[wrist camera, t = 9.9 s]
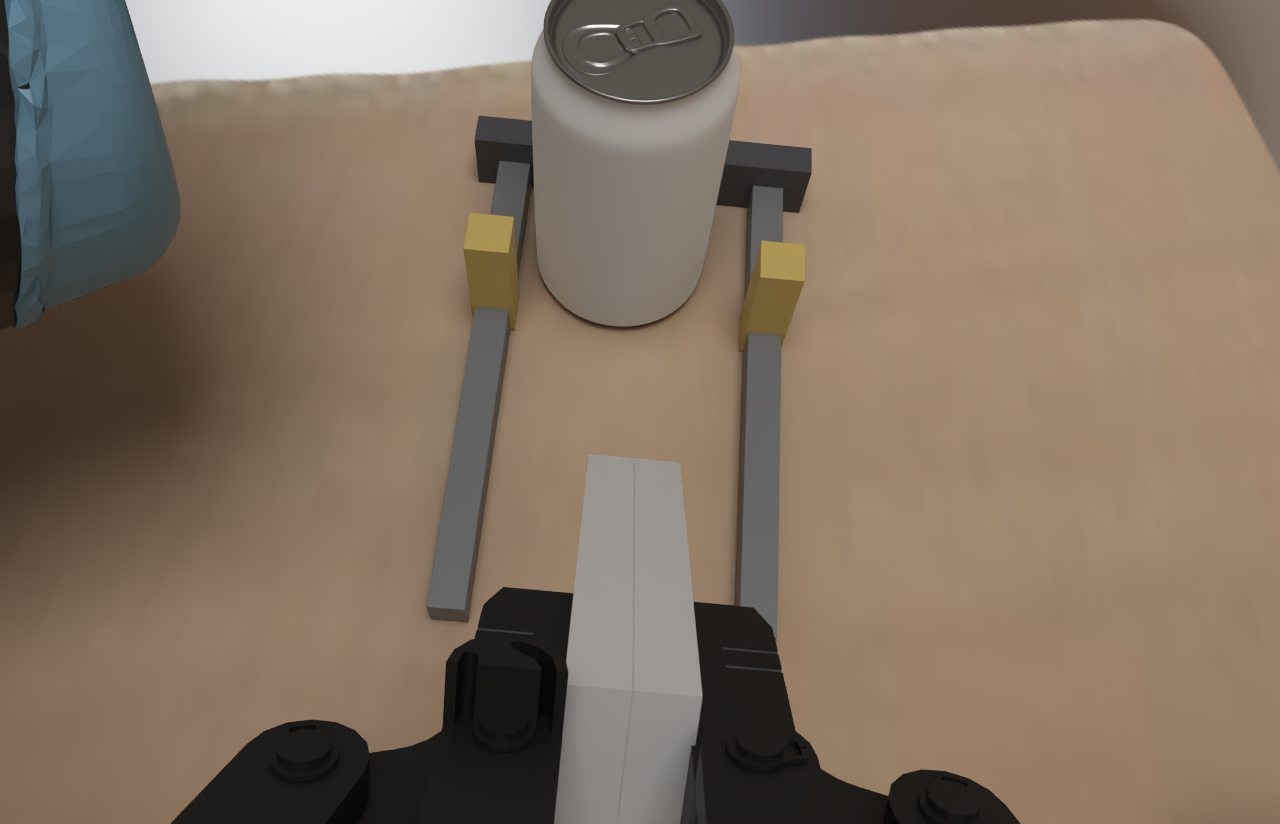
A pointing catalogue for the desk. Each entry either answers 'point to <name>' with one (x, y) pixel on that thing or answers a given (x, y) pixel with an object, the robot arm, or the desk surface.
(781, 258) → the u-shaped rail frame
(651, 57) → the can
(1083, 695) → the desk surface
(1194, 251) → the desk surface
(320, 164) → the desk surface
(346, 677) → the desk surface
